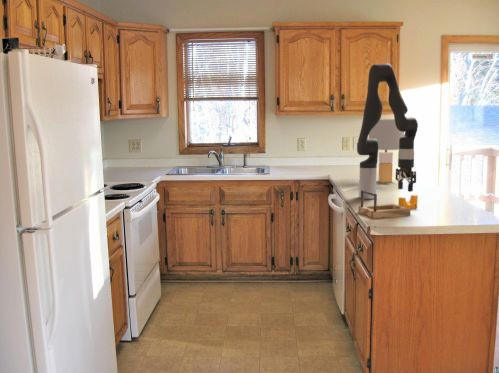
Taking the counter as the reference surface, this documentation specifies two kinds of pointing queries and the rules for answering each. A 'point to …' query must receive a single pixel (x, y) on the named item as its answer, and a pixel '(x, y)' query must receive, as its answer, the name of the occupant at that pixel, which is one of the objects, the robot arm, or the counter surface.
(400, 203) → the pipe clamp
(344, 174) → the counter surface
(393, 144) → the lamp
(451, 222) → the counter surface
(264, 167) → the counter surface
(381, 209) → the wooden tray
